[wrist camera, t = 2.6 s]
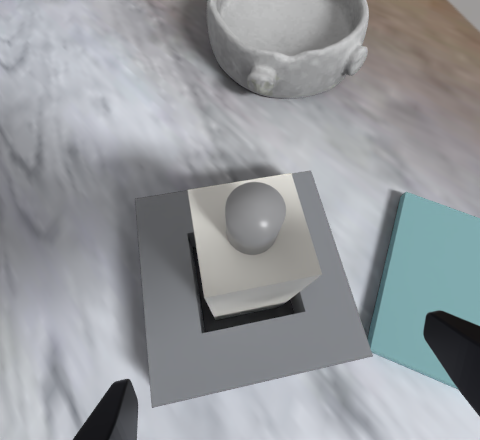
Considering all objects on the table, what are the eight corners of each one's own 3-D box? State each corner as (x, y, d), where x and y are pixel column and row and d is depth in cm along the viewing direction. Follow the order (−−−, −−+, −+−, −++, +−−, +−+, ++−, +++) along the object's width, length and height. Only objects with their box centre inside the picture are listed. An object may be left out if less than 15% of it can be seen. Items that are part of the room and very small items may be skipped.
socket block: (352, 354, 20) (373, 356, 17) (163, 398, 18) (151, 407, 15) (301, 190, 24) (310, 170, 21) (146, 216, 23) (134, 198, 20)
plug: (280, 306, 21) (340, 260, 9) (215, 320, 20) (199, 288, 9) (265, 245, 22) (301, 144, 11) (205, 256, 22) (180, 162, 11)
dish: (207, 6, 32) (203, -51, 28) (335, 5, 33) (352, -51, 28) (211, 115, 27) (208, 67, 22) (365, 110, 28) (393, 62, 23)
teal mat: (560, 433, 18) (573, 436, 17) (364, 349, 20) (370, 349, 19) (560, 254, 23) (571, 251, 22) (400, 196, 24) (406, 191, 23)
